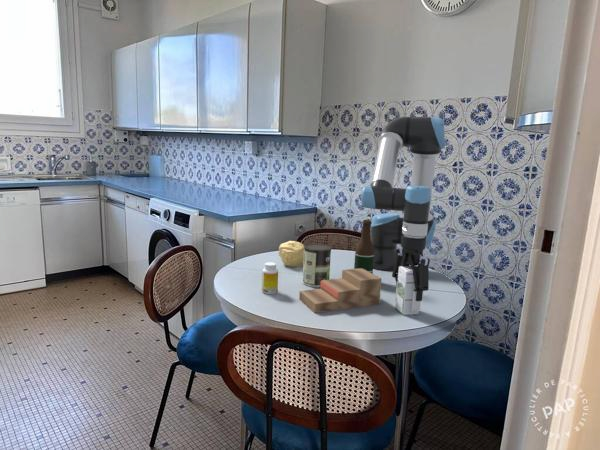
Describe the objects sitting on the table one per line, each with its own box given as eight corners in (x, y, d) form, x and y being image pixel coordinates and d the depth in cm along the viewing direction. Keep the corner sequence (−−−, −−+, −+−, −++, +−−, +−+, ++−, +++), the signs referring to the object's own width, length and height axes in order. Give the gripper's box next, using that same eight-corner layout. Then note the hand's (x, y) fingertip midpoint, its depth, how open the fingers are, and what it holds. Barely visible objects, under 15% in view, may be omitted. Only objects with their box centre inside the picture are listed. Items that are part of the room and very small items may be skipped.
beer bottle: (367, 285, 158) (372, 223, 153) (349, 281, 162) (353, 220, 157) (375, 280, 164) (380, 220, 160) (357, 276, 168) (361, 217, 164)
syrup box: (419, 314, 132) (423, 270, 129) (402, 315, 130) (406, 271, 128) (410, 307, 137) (415, 265, 134) (394, 308, 136) (398, 265, 133)
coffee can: (330, 280, 162) (333, 244, 159) (327, 288, 152) (329, 251, 149) (304, 277, 164) (306, 242, 161) (299, 285, 154) (301, 248, 151)
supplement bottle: (280, 293, 145) (281, 265, 143) (265, 295, 142) (265, 266, 140) (273, 288, 150) (274, 260, 148) (259, 290, 147) (260, 262, 145)
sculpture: (274, 265, 178) (275, 241, 175) (289, 259, 188) (290, 236, 186) (297, 270, 172) (298, 245, 170) (311, 264, 182) (313, 240, 180)
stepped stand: (360, 292, 150) (361, 268, 148) (379, 304, 139) (381, 278, 137) (299, 299, 140) (300, 273, 138) (314, 313, 129) (316, 285, 128)
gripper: (384, 229, 137) (379, 295, 141) (426, 243, 118) (418, 319, 123) (403, 228, 140) (397, 293, 144) (447, 242, 121) (438, 315, 126)
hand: (407, 305), depth 133 cm, fingers open, 8 cm apart
